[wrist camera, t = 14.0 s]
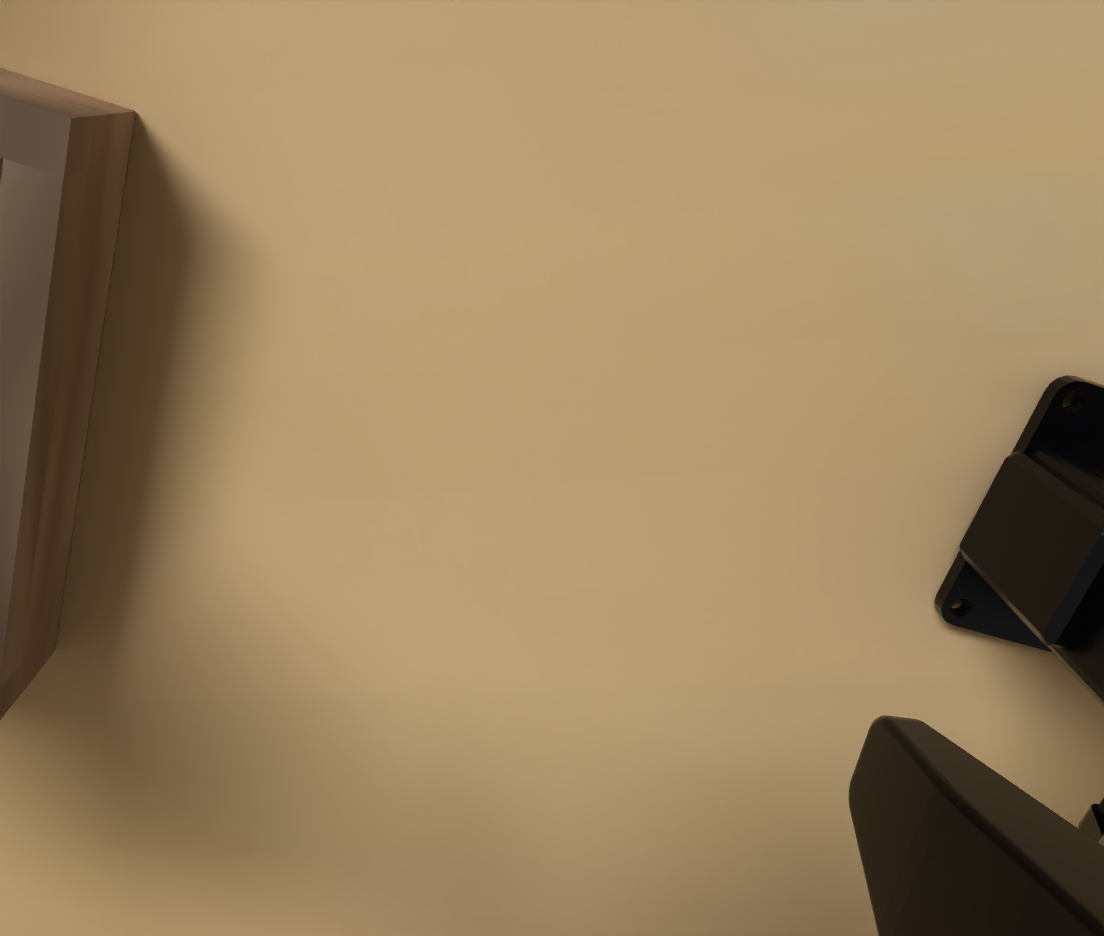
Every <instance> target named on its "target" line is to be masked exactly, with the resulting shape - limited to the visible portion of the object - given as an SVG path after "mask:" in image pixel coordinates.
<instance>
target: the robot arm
mask: <svg viewBox="0 0 1104 936" xmlns="http://www.w3.org/2000/svg"><path fill="white" fill-rule="evenodd" d="M1073 391H1075V393H1076V395H1075V399H1074V401H1073V402H1072V403H1071V404H1070V405H1068V406H1066V407H1063V406H1062V403H1063V399H1064V398H1065V397H1066V396H1067V394H1069V393H1071V392H1073ZM959 599H965V600H964V603H963V604H962V605H961V606H960V607H957V608H952V605H953V604H954V603H955V601H957V600H959ZM935 608H936V609H937V611H938V612H939V613H940V615H941V616H942V617H943V618H944V620H945V621H946V622H948V623H950V624H952V625H955V626H958V627H962V628H966V629H969V630H973V631H977V632H980V633H984V634H988V635H991V636H995V637H999V638H1002V639H1006V640H1010V641H1013V642H1017V643H1021V644H1024V645H1028V646H1032V647H1035V648H1039V649H1043V650H1046V651H1050V652H1053V653H1054V654H1055V655H1056V656H1057V657H1058V658H1059V659H1060V660H1061V661H1062V662H1063V663H1064V664H1065V665H1066V667H1067V668H1068V669H1069V670H1070V671H1071V672H1072V673H1073V674H1074V675H1075V676H1076V677H1077V678H1078V679H1079V680H1080V681H1081V683H1082V684H1083V685H1084V686H1085V687H1086V688H1087V689H1088V690H1089V691H1090V692H1091V693H1092V694H1093V695H1094V696H1095V698H1096V699H1097V700H1098V701H1099V702H1100V703H1101V704H1102V705H1103V706H1104V386H1103V385H1100V384H1097V383H1094V382H1091V381H1088V380H1085V379H1082V378H1079V377H1076V376H1063V377H1060V378H1057V379H1056V380H1054V381H1053V382H1052V383H1050V385H1049V386H1048V387H1047V388H1046V390H1045V391H1044V393H1043V395H1042V397H1041V399H1040V401H1039V403H1038V405H1037V406H1036V408H1035V410H1034V412H1033V414H1032V416H1031V418H1030V420H1029V421H1028V423H1027V425H1026V427H1025V429H1024V431H1023V433H1022V435H1021V437H1020V438H1019V440H1018V442H1017V444H1016V446H1015V448H1014V450H1013V452H1012V453H1011V455H1009V456H1008V457H1007V458H1006V459H1005V460H1004V462H1003V464H1002V466H1001V468H1000V470H999V472H998V473H997V475H996V477H995V479H994V481H993V483H992V485H991V487H990V489H989V490H988V492H987V494H986V496H985V498H984V500H983V502H982V504H981V506H980V507H979V509H978V511H977V513H976V515H975V517H974V519H973V521H972V523H971V524H970V526H969V528H968V530H967V532H966V534H965V536H964V538H963V540H962V541H961V543H960V551H959V553H958V555H957V557H956V559H955V561H954V563H953V565H952V566H951V568H950V570H949V572H948V574H947V576H946V578H945V580H944V582H943V583H942V585H941V587H940V589H939V591H938V593H937V595H936V598H935ZM849 806H850V812H851V816H852V821H853V825H854V829H855V834H856V838H857V843H858V847H859V851H860V856H861V860H862V865H863V869H864V873H865V878H866V882H867V887H868V891H869V896H870V900H871V904H872V909H873V913H874V918H875V922H876V926H877V931H878V935H879V936H1104V798H1103V800H1102V801H1101V803H1100V804H1093V805H1091V807H1090V808H1089V810H1088V811H1087V813H1086V814H1085V816H1084V817H1083V819H1082V820H1081V822H1080V823H1079V829H1078V828H1076V827H1075V826H1073V825H1072V824H1071V823H1069V822H1068V821H1066V820H1065V819H1063V818H1062V817H1060V816H1059V815H1058V814H1056V813H1055V812H1053V811H1052V810H1050V809H1049V808H1047V807H1046V806H1044V805H1043V804H1042V803H1040V802H1039V801H1037V800H1036V799H1034V798H1033V797H1031V796H1030V795H1028V794H1027V793H1026V792H1024V791H1023V790H1021V789H1020V788H1018V787H1017V786H1015V785H1014V784H1012V783H1011V782H1010V781H1008V780H1007V779H1005V778H1004V777H1002V776H1001V775H999V774H998V773H997V772H995V771H994V770H992V769H991V768H989V767H988V766H986V765H985V764H983V763H982V762H981V761H979V760H978V759H976V758H975V757H973V756H972V755H970V754H969V753H967V752H966V751H965V750H963V749H962V748H960V747H959V746H957V745H956V744H954V743H953V742H951V741H950V740H949V739H947V738H946V737H944V736H943V735H941V734H940V733H938V732H937V731H936V730H934V729H933V728H931V727H930V726H928V725H927V724H925V723H924V722H922V721H920V720H916V719H911V718H902V717H893V716H881V717H879V718H877V719H875V720H874V722H873V723H872V724H871V727H870V729H869V731H868V734H867V737H866V739H865V742H864V745H863V748H862V751H861V753H860V756H859V759H858V762H857V765H856V767H855V770H854V773H853V776H852V779H851V782H850V788H849Z"/></svg>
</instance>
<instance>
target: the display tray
mask: <svg viewBox="0 0 1104 936" xmlns="http://www.w3.org/2000/svg"><path fill="white" fill-rule="evenodd" d="M134 118H135V111H133V110H130V109H127V108H123V107H120V106H117V105H114V104H111V103H108V102H105V101H101V100H98V99H95V98H92V97H89V96H86V95H83V94H79V93H76V92H73V91H70V90H67V89H64V88H61V87H57V86H54V85H51V84H48V83H45V82H42V81H39V80H35V79H32V78H29V77H26V76H23V75H20V74H17V73H13V72H10V71H7V70H4V69H1V68H0V720H1V718H2V717H3V716H4V715H5V713H6V712H7V711H8V709H9V708H10V707H11V706H12V704H13V703H14V702H15V701H16V699H17V698H18V697H19V695H20V694H21V693H22V692H23V690H24V689H25V688H26V687H27V685H28V684H29V683H30V682H31V680H32V679H33V678H34V676H35V675H36V674H37V673H38V671H39V670H40V669H41V668H42V666H43V665H44V664H45V662H46V661H47V660H48V659H49V657H50V656H51V655H52V654H53V652H54V651H55V644H56V638H57V631H58V624H59V618H60V611H61V604H62V598H63V591H64V584H65V578H66V571H67V564H68V558H69V551H70V544H71V538H72V531H73V524H74V518H75V511H76V504H77V498H78V491H79V484H80V478H81V471H82V464H83V458H84V451H85V444H86V438H87V431H88V424H89V418H90V411H91V404H92V398H93V391H94V384H95V378H96V371H97V364H98V358H99V351H100V344H101V338H102V331H103V324H104V318H105V311H106V304H107V298H108V291H109V284H110V278H111V271H112V264H113V258H114V251H115V244H116V238H117V231H118V225H119V218H120V211H121V205H122V198H123V191H124V185H125V178H126V171H127V165H128V158H129V151H130V145H131V138H132V131H133V125H134Z"/></svg>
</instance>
